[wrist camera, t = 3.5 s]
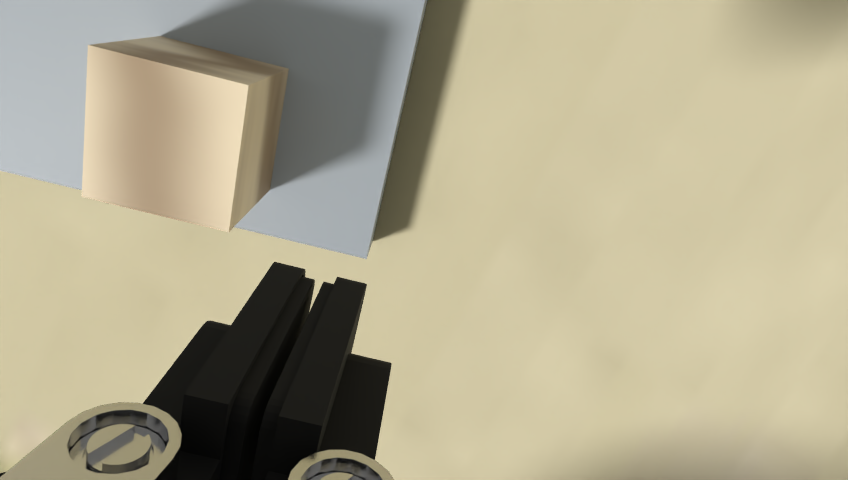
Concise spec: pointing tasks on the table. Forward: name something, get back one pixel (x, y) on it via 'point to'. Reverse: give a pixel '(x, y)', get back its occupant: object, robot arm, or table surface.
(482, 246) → the table surface
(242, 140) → the beech block
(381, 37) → the trap deck
